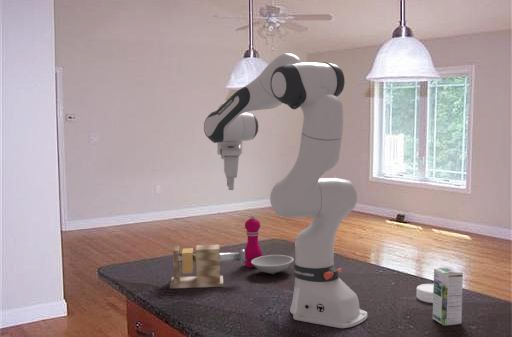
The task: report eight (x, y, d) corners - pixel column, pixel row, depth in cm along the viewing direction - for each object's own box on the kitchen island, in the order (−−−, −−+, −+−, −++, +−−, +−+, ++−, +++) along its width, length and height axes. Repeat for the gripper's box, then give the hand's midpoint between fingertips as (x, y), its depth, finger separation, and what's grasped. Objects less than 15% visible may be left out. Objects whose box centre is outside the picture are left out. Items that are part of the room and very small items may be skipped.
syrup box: (431, 318, 150) (432, 267, 149) (450, 317, 152) (451, 266, 151) (443, 326, 145) (444, 273, 144) (462, 324, 146) (463, 271, 145)
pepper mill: (260, 268, 206) (259, 216, 204) (242, 267, 207) (241, 216, 206) (263, 263, 213) (263, 213, 211) (246, 262, 214) (245, 213, 213)
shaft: (244, 261, 190) (244, 247, 190) (245, 264, 186) (245, 251, 185) (173, 263, 189) (173, 250, 188) (172, 267, 184) (172, 253, 183)
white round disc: (435, 306, 161) (435, 294, 161) (409, 297, 170) (409, 286, 170) (456, 300, 167) (457, 289, 166) (430, 292, 175) (431, 281, 175)
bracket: (222, 278, 193) (222, 243, 192) (223, 286, 183) (222, 250, 182) (172, 279, 192) (171, 245, 191) (169, 288, 182) (168, 251, 181)
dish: (273, 282, 187) (273, 268, 187) (242, 275, 196) (242, 262, 196) (302, 271, 201) (302, 258, 200) (272, 265, 210) (272, 252, 209)
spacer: (193, 267, 190) (193, 248, 190) (192, 273, 183) (192, 252, 183) (183, 267, 190) (183, 248, 190) (182, 273, 183) (181, 253, 183)
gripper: (220, 147, 201) (220, 184, 202) (221, 151, 181) (222, 192, 182) (236, 147, 201) (237, 184, 203) (240, 151, 181) (241, 191, 182)
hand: (230, 188), depth 192 cm, fingers open, 8 cm apart
